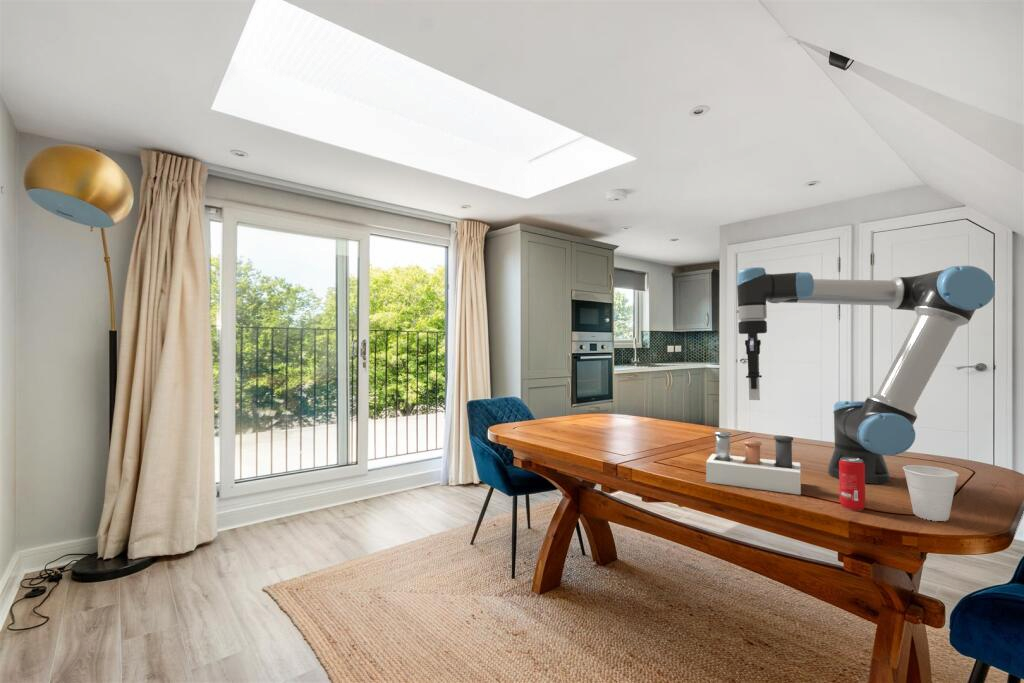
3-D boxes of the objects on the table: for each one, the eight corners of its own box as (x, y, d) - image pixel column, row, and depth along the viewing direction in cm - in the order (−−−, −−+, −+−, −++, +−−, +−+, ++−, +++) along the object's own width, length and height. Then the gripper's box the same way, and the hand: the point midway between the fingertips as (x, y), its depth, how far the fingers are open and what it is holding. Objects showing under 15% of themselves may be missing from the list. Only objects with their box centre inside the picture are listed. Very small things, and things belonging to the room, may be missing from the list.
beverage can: (834, 504, 119) (833, 457, 119) (853, 503, 120) (852, 456, 120) (851, 511, 114) (850, 462, 114) (870, 510, 114) (870, 461, 114)
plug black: (793, 469, 135) (793, 436, 135) (793, 473, 131) (793, 439, 131) (774, 467, 137) (774, 435, 137) (774, 471, 133) (773, 437, 133)
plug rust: (762, 473, 139) (762, 441, 139) (761, 477, 135) (760, 444, 135) (744, 471, 141) (744, 439, 141) (743, 475, 137) (742, 442, 137)
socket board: (800, 483, 137) (800, 462, 137) (800, 494, 127) (800, 472, 127) (712, 472, 150) (712, 453, 150) (706, 482, 139) (705, 461, 139)
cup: (914, 522, 107) (913, 474, 107) (896, 507, 116) (895, 463, 116) (969, 527, 103) (968, 478, 103) (946, 512, 113) (945, 466, 113)
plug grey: (732, 463, 143) (732, 431, 143) (730, 466, 139) (730, 434, 139) (716, 461, 146) (715, 430, 146) (713, 464, 142) (713, 433, 142)
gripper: (740, 321, 146) (742, 396, 146) (736, 320, 135) (738, 401, 135) (767, 320, 142) (769, 397, 142) (765, 319, 131) (768, 402, 131)
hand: (754, 399), depth 139 cm, fingers closed
